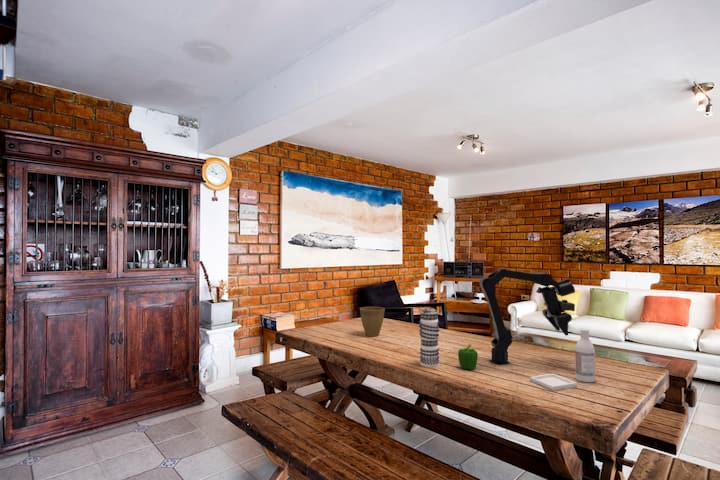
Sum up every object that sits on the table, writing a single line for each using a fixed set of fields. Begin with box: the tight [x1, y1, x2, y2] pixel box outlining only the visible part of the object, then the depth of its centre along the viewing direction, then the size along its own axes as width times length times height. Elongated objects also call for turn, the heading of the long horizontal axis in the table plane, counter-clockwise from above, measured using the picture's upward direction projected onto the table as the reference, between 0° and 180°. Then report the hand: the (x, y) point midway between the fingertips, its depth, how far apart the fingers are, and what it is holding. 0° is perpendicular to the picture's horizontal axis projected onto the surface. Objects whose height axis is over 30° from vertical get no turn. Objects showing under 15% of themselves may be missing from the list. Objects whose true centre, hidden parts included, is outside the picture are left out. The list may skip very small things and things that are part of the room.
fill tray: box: [529, 373, 578, 392], centre depth 154 cm, size 12×12×2 cm
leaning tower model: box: [418, 307, 441, 368], centre depth 181 cm, size 9×9×25 cm
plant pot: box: [359, 306, 386, 338], centre depth 237 cm, size 15×15×16 cm
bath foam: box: [574, 328, 596, 383], centre depth 159 cm, size 7×7×20 cm
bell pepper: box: [457, 343, 479, 370], centre depth 175 cm, size 8×8×10 cm
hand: (562, 332), depth 180 cm, fingers open, 9 cm apart
